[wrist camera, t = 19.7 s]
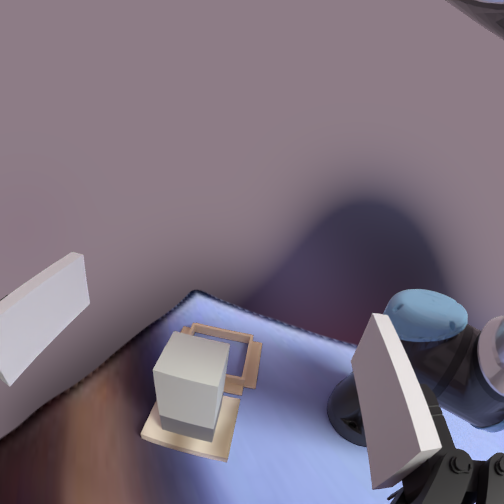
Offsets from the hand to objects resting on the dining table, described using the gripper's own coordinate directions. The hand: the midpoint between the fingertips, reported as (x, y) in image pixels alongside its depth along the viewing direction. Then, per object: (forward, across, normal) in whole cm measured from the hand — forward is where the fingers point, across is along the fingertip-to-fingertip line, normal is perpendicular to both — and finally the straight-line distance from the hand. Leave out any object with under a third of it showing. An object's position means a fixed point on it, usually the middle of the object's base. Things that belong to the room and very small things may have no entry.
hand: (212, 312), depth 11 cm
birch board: (+12, -4, -30) cm, 33 cm away
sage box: (+12, -4, -28) cm, 31 cm away
